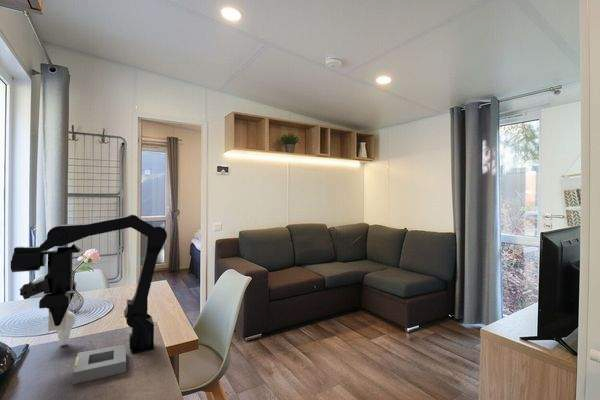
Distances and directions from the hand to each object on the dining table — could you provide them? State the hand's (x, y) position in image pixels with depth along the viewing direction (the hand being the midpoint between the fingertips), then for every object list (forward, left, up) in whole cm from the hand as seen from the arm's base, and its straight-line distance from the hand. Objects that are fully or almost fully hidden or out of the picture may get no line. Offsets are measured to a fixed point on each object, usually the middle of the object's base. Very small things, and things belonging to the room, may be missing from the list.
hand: (58, 323), depth 89 cm
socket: (-11, +8, -12) cm, 18 cm away
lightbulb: (0, -14, -12) cm, 19 cm away
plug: (0, 0, -1) cm, 1 cm away
